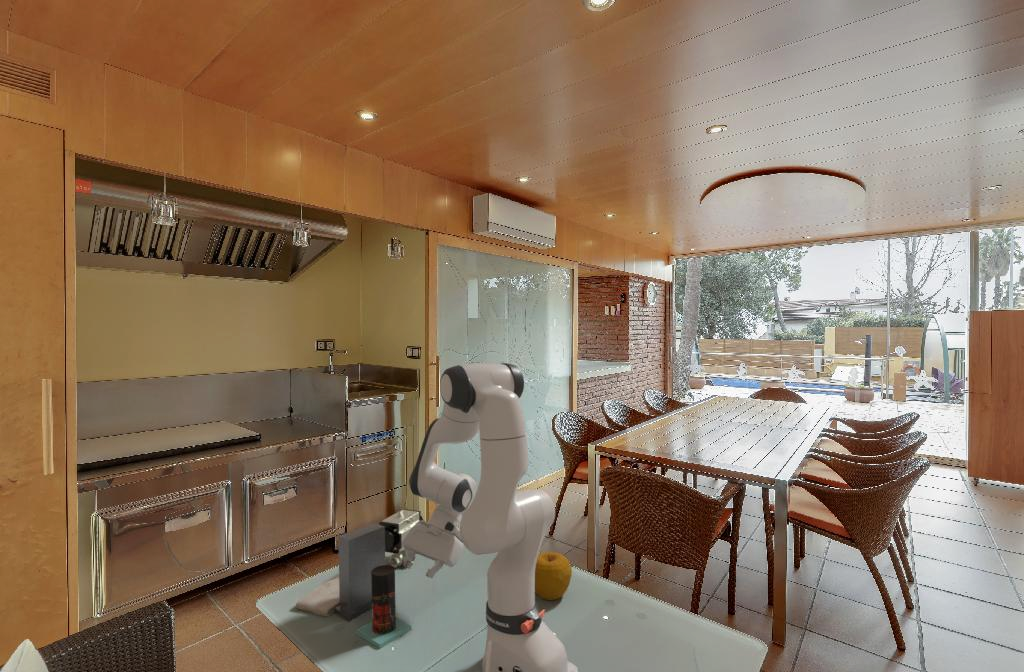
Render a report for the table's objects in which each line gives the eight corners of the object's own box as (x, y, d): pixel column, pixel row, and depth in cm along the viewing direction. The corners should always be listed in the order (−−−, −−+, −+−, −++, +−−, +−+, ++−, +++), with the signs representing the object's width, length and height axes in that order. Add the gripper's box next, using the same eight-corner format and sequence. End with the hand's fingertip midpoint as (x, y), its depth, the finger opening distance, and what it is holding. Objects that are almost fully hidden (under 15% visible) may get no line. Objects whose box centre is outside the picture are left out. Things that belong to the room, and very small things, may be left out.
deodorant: (368, 628, 126) (367, 570, 126) (388, 618, 130) (387, 562, 130) (379, 637, 121) (378, 578, 122) (400, 627, 125) (399, 569, 126)
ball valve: (397, 577, 154) (396, 522, 155) (375, 573, 158) (374, 519, 158) (428, 554, 171) (427, 504, 171) (408, 551, 174) (407, 501, 174)
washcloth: (369, 588, 149) (369, 578, 149) (327, 619, 132) (326, 608, 132) (339, 581, 154) (339, 572, 154) (294, 611, 137) (294, 600, 137)
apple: (522, 587, 146) (522, 550, 147) (561, 580, 150) (560, 543, 151) (538, 609, 134) (537, 568, 134) (580, 601, 138) (579, 561, 138)
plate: (411, 629, 126) (411, 625, 126) (379, 648, 119) (379, 644, 119) (387, 616, 133) (387, 612, 133) (356, 634, 125) (356, 630, 125)
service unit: (390, 599, 141) (389, 526, 142) (348, 621, 130) (347, 542, 131) (376, 592, 146) (375, 521, 146) (334, 613, 135) (333, 536, 135)
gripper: (413, 513, 147) (387, 557, 140) (461, 528, 135) (435, 577, 127) (424, 523, 151) (400, 566, 143) (472, 539, 138) (448, 587, 130)
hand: (417, 572), depth 135 cm, fingers open, 8 cm apart
